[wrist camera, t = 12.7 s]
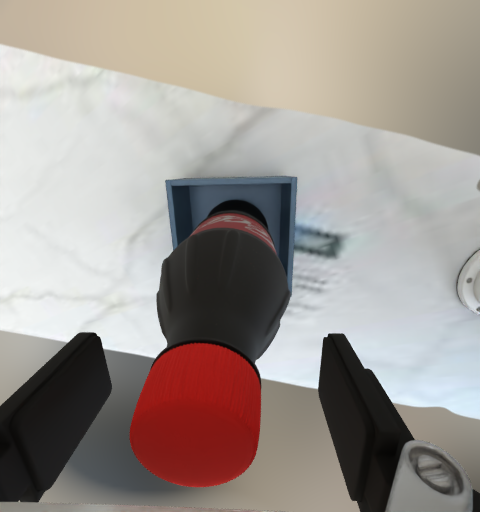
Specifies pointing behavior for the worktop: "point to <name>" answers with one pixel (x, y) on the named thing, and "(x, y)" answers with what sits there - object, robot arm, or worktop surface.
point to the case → (237, 188)
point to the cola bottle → (211, 350)
